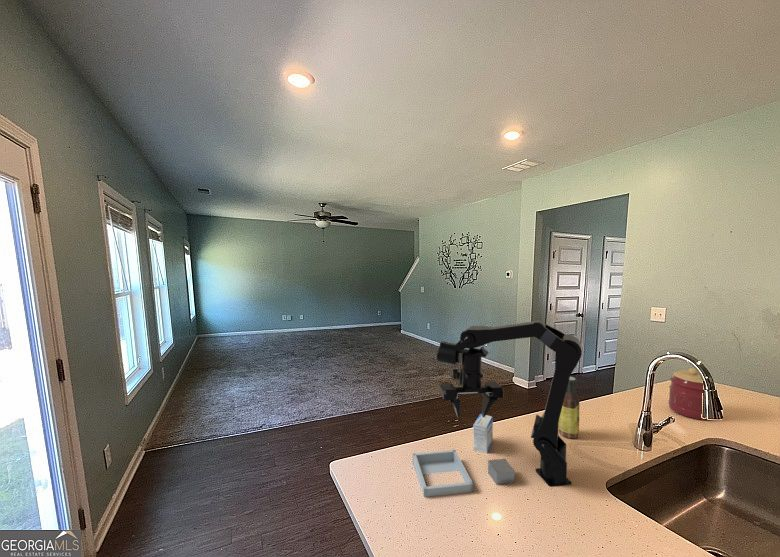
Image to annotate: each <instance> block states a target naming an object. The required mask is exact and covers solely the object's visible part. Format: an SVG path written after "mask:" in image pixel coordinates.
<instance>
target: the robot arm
mask: <svg viewBox="0 0 780 557" xmlns="http://www.w3.org/2000/svg"><path fill="white" fill-rule="evenodd" d="M459 338H460V339H459V340H458V342H457V343H456V342H455V343H453V342H447V341H444V340H443V341H440V343H439V347H438V350H437V354H436V360H437V362H438V363H439V364H446V365H451V366H455V367H456V366H458V364H461V368H460V371H459V370H458V369H457V368H455V369H453V368H452V369H450V379H451V380H456V382H457V383H458V384H459V387H458V386H456V387H455V385H454V384H453V383H440V385H439V388H438V390H439V394H440V395H441V397H442V399H443V400H444V401H449V402H450V403H452V405H453V409H454V412H455V414H456V417H457V419H458V420H459V419H461V418H460V417H461V400H460V399H459V397H458V395H467V394H469V395H470V394H481V395H482V404H481V414H482V416H483V417H485V416H486V415H487V414H488V413H489V412H488V411H490V408H491V407H492V406H493V405H494V403H495V401H498V400H499V398H504V397H505V390H504V388H503V387H502V386H501V385H500V384H499V383H498V382H497V381H485V382H484V384H483V385H482V378H484V375H483V373H482V357H483V358H486V357H487V356H488V355H489V351H488V350H487V349H485V345H488V344H490V343H494V342H501V341H511V340H518V339H528V338H536V339H538V340H539V342H542V343H543V344H544V345H545V346H546V347H548V348H549V349H550V350H552V351H553V352H554V353H555V354H554V373H553V376H552V379H551V384H550V389H549V393H548V396H547V400H546V404H545V408H544V412H543V414H542V415H541V416H540V415H539V414H535V419H534V424H533V427H532V430H531V435H530V438H531V439H532V444H533V446H534V447H535V449H536V450H537V452H539V454H540V459H539V460H540V464H539V466H540V467H538V468H535V472H536V473H537V474H538V476H539V477H540V478H541V479H542V480H543V482H544V483H545V484H547V486H548V487H551V488H552V487H561V486H570V485H572V481H571V480H570V479H569V478H568V477H567V472H568V462H567V444H566V442H565V441H564V440H563V439H562V438H561V436H559V428H558V424H559V418H560V414H561V410H562V406H563V402H564V398H565V394H566V390H567V386H568V383H569V379H570V377H571V375H572V374H573V372H574V370H575V368H577V365H578V364H579V361H580V360H581V358H582V352H583V351H582V343H581V341H580V340H579V338H577V337H576V336H575V335H572V334H566V333H564V332H562V331H561V330H558V329H556V328H554V327H552V326H550V325H549V324H547V323H545V322H544V321H543V320H540V319H536V320H533V321H528V322H521V323H520V322H519V323H514V324H506V325H505V324H504V325H499V326H485V325H471V326H469V327H468V328H466V329H465V330H463V331H462V332H461V333H460V337H459ZM479 347H480V348H479ZM460 386H461V387H460Z"/></svg>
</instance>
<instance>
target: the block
mask: <svg viewBox="0 0 780 557" xmlns="http://www.w3.org/2000/svg"><path fill="white" fill-rule="evenodd" d="M487 464H488V465H487V467H488V468H487V474H488V475H489V476H490V478H491V479H492V481H493V483H495V485H496V486H498V485H500V486H501V485H509V484H510V485H511V484H515V477H516V476H515V472H516V471H515V469H513V466H511V465H510V463H509V462H508V461H507V459H506V458H498V459H488V461H487Z"/></svg>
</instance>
